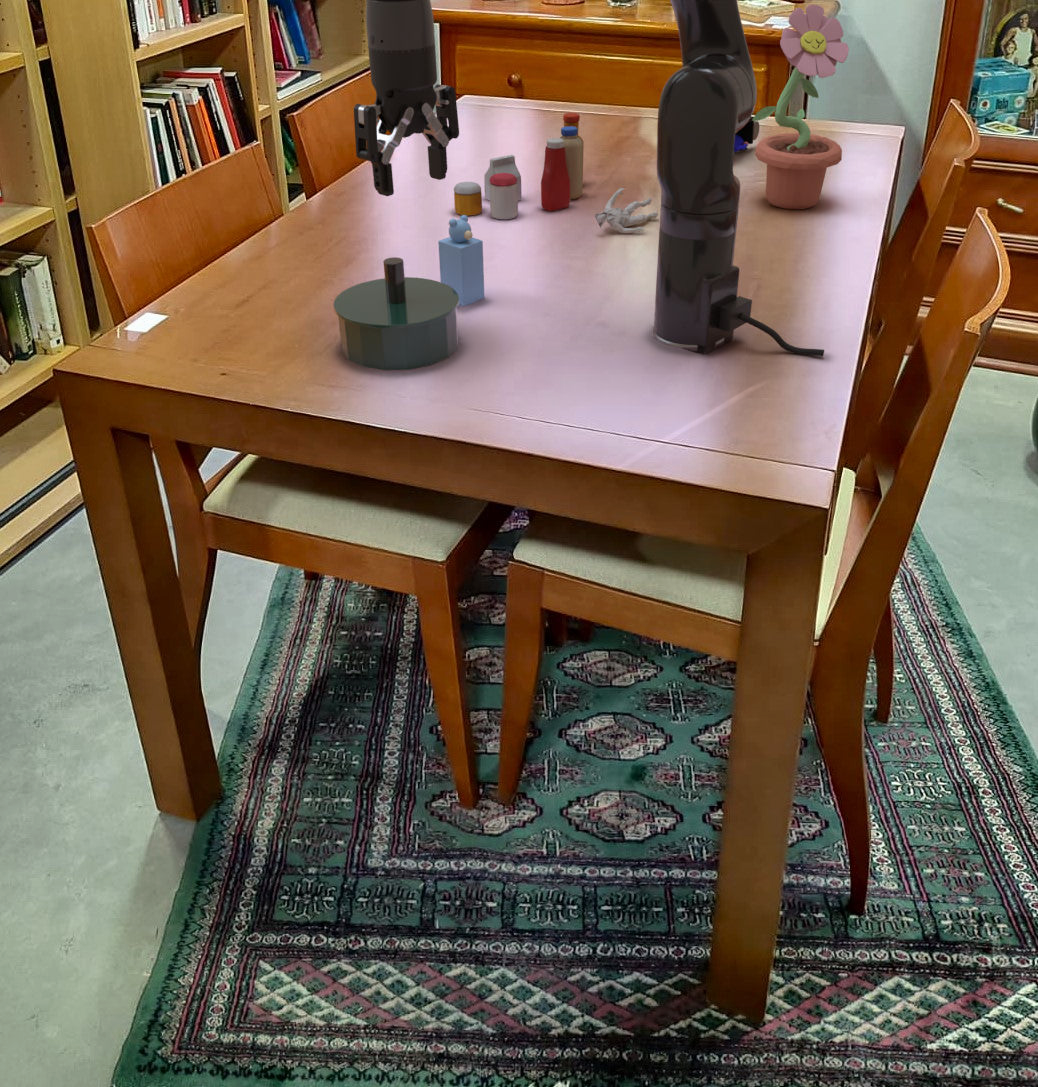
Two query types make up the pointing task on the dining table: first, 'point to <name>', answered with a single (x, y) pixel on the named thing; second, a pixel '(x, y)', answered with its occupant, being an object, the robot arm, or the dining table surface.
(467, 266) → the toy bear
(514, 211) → the toy food
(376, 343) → the pot
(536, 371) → the dining table surface
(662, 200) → the robot arm
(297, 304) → the dining table surface
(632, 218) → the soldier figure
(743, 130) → the figurine character
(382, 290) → the lid
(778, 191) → the decorative flower
